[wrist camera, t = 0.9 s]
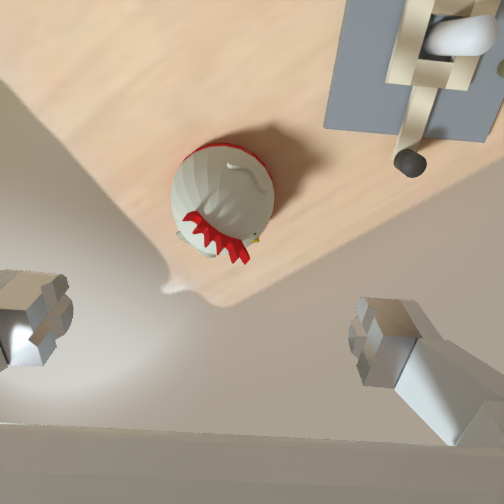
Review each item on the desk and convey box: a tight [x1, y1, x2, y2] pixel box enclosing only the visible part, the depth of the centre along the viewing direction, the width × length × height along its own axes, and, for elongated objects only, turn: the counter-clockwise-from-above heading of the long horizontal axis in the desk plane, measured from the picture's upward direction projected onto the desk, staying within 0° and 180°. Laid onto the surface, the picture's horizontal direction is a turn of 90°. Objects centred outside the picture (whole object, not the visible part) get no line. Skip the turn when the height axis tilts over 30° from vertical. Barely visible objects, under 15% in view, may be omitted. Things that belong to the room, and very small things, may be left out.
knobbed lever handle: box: [385, 0, 501, 178], centre depth 36 cm, size 18×9×4 cm, turn 175°
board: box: [323, 0, 504, 143], centre depth 33 cm, size 20×20×10 cm
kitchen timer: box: [170, 143, 275, 264], centre depth 40 cm, size 14×14×15 cm
